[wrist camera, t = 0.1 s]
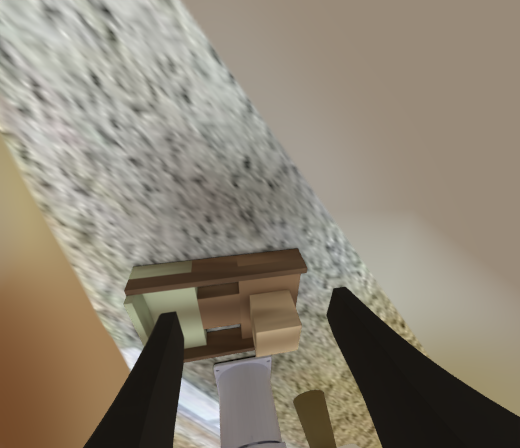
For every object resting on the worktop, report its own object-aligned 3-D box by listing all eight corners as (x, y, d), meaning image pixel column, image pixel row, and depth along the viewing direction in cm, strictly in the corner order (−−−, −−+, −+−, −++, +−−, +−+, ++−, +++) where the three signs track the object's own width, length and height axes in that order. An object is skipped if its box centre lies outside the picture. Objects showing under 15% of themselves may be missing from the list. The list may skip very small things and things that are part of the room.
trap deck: (288, 322, 29) (296, 349, 26) (163, 342, 27) (158, 374, 24) (297, 248, 23) (310, 274, 20) (133, 266, 20) (121, 299, 18)
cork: (291, 407, 45) (311, 490, 36) (295, 393, 42) (318, 482, 33) (320, 401, 46) (347, 481, 37) (326, 387, 43) (357, 471, 34)
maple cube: (286, 314, 26) (297, 350, 22) (250, 319, 25) (256, 357, 22) (288, 289, 24) (301, 325, 20) (249, 295, 23) (256, 332, 20)
